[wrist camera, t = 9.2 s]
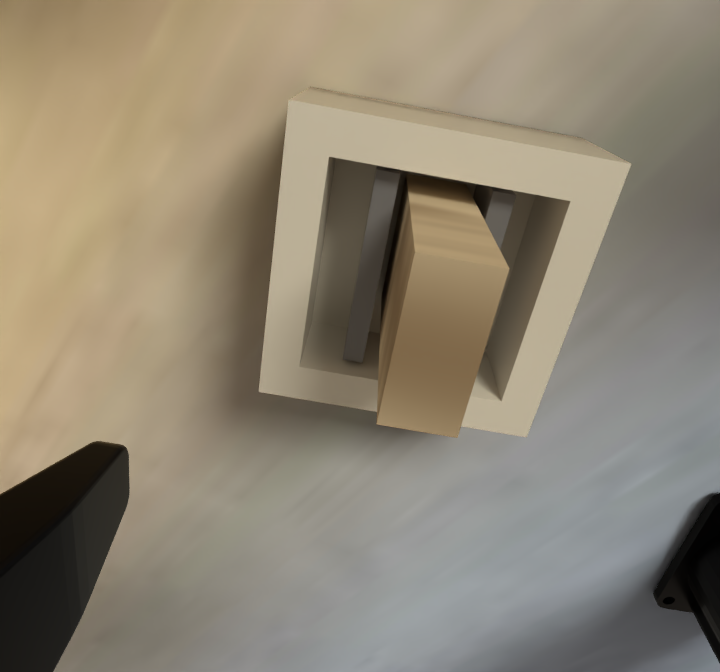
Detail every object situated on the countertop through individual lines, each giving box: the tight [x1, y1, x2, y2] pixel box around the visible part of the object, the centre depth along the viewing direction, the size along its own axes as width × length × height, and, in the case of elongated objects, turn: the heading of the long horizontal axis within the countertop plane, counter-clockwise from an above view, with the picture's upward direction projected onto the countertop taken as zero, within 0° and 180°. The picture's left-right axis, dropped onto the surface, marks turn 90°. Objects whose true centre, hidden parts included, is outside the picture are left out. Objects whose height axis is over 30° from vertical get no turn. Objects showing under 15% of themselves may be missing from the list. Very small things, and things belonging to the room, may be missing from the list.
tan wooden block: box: [377, 174, 509, 438], centre depth 15 cm, size 4×2×7 cm, turn 171°
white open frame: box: [259, 87, 631, 437], centre depth 17 cm, size 8×8×4 cm
